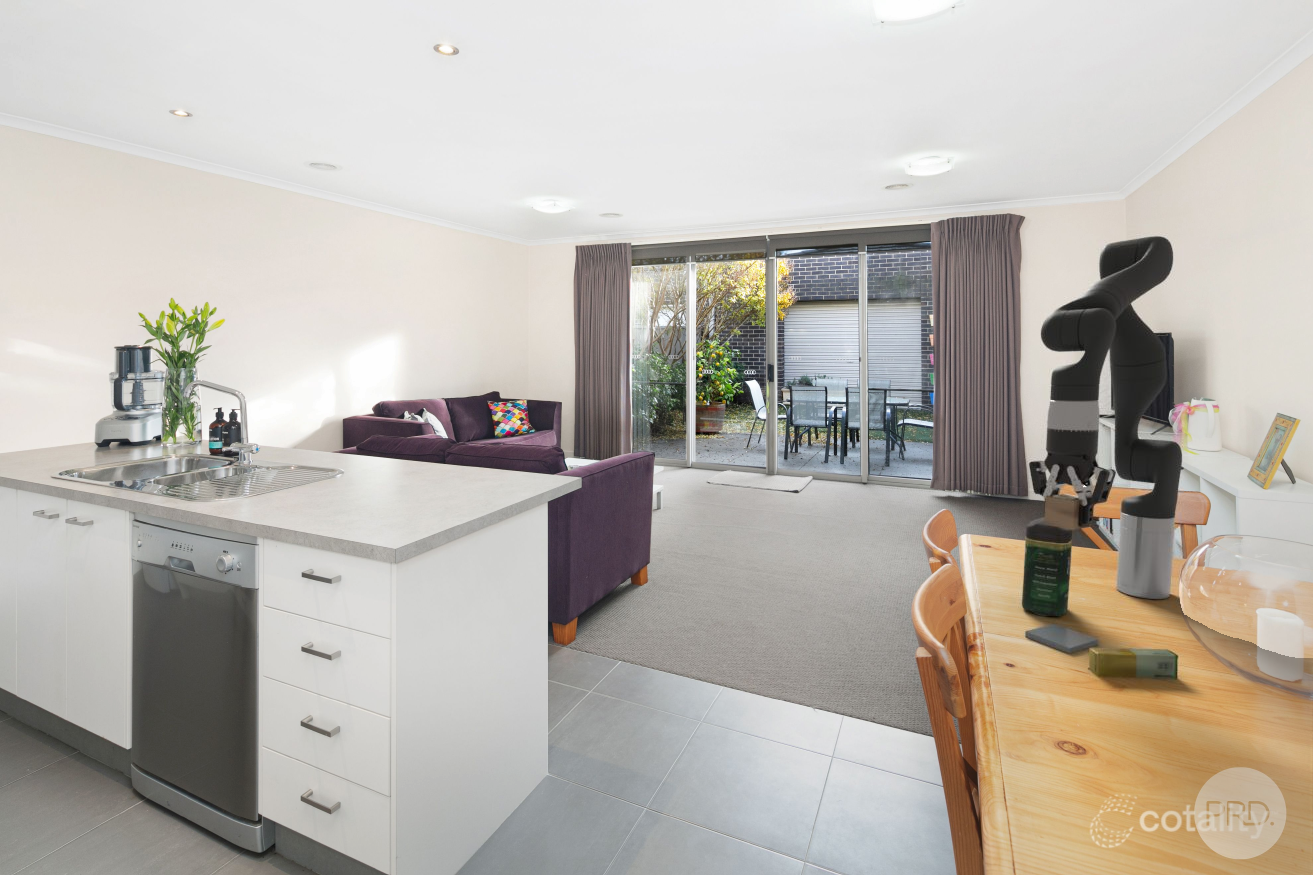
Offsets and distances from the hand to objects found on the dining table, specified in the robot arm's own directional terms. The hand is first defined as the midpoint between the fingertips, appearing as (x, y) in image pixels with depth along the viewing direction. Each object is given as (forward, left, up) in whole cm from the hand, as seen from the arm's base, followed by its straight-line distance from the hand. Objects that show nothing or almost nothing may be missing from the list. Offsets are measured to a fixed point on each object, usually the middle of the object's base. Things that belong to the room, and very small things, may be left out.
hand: (1067, 522), depth 113 cm
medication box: (+2, +13, -22) cm, 26 cm away
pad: (0, 0, -22) cm, 22 cm away
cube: (0, 0, 0) cm, 0 cm away
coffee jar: (-12, -11, -22) cm, 27 cm away
